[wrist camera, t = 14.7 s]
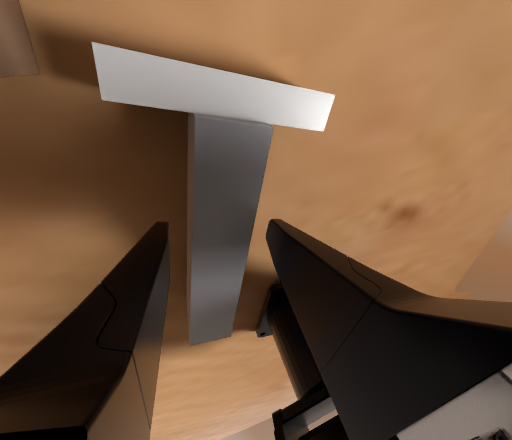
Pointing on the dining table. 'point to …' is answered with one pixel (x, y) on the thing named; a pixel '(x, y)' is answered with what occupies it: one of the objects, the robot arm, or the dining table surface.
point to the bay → (15, 42)
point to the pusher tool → (214, 162)
